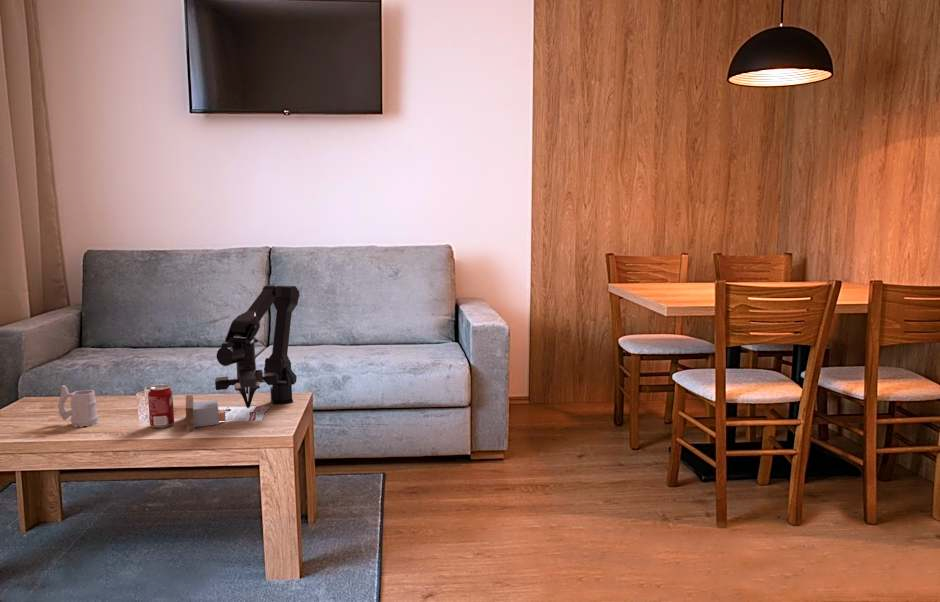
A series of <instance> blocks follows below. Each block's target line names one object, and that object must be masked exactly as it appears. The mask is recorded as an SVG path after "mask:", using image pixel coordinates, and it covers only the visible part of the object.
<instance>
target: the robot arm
mask: <svg viewBox="0 0 940 602" xmlns="http://www.w3.org/2000/svg"><path fill="white" fill-rule="evenodd" d="M299 298H300V290H299V289H298V288H297V286H295V285H276V284H267V285H264V286H263V288H262V290H261V292H260V294H259V295H258V296H257V297H256V298H255V300H254V301H253V302H252V304H251V305H250V307H248V309H247V310H246V311H245V312H244V313H241V314H238V315H237V317H236V318H234V319H233V320H232V322H231V324H230V326H229V329H228V331H227V334H226V336H225V339H224V342H222V343H221V347H220V348H219V349H218V350H217V352H216V360H217V362H218V363H219V364H220V365H221V366H224V367H227V366H228V367H229V366H231V365H233V364H235V365H236V367H235V368H236V378H230V379H229V376H218V377H216V378H215V379H214V384H215V386H214V387H215V390H216V391H223V390H227V389H228V388H229V387H230V386H234V390H235V392H236V391H237V392H238V391H239V393H240V395H241V396H242V398H243V401H244V404H245V406H246V409H250V408H251V405H252V401H253V397H254V396H255V393H256V391H257V390H258V389H260V388H261V387H260V384H261V383H265V384H267V386H271V387H270V389H269V391H270V392H269V394H270V401H271V402H272V404H274V405H276V404H287V403H293V402H294V399H293V385H295V384H296V383H297V377H298V376H297V375H296V373H295V372H294V371H293V369H292V362H291V359H290V357H289V355H288V349H289V342H290V341H289V340H290V332H291V325H292V324H291V322H292V313H293V311H294V310H295V309H296V307H297V306H298V302H299ZM272 305H273V306H274V308H275V311H276V313H275V314H276V315H275V323H274V324H275V325H274V333H273V341H272V351H271V354H270V355H269V357H266V358H265V360H264V368H263V369H257V365H256V351H255V348H256V347H255V345H256V344H257V343H259V339H257V338H256V336H257V334H258V332H259V330H260V328H261V323H260V322H261V320H262V319H263V318H264V315H266V313H267V312H268V310H269V309H270V308H271V306H272ZM247 388H248V393H247V390H246V389H247Z"/></svg>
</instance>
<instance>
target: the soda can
mask: <svg viewBox="0 0 940 602" xmlns="http://www.w3.org/2000/svg"><path fill="white" fill-rule="evenodd" d="M170 387H171V386H170V385H169V384H157V385H153V386H151V387H149V391H148V393H147V400H148V413H149V415H148V416H149V426H151V427H152V428H154V429H165V428H169V427H170V426H172V425H173V424H175V412H174V400H173V398H174V397H173V394H174V393H173V391H172V388H170Z"/></svg>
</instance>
